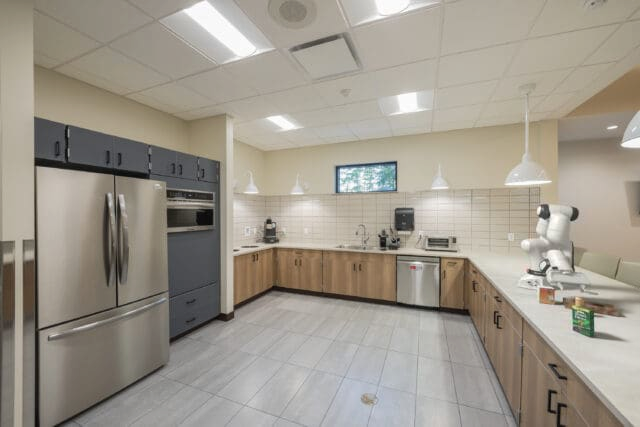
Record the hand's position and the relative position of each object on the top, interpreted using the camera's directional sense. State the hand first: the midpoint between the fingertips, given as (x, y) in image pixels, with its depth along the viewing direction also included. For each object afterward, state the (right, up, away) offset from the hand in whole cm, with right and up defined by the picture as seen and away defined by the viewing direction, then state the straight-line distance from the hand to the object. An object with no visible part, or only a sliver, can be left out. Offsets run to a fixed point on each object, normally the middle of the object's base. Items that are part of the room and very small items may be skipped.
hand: (573, 290), depth 151 cm
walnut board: (+13, -12, +3) cm, 18 cm away
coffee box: (-22, -13, -26) cm, 37 cm away
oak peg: (-1, -13, -5) cm, 13 cm away
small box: (-3, -13, +15) cm, 20 cm away
